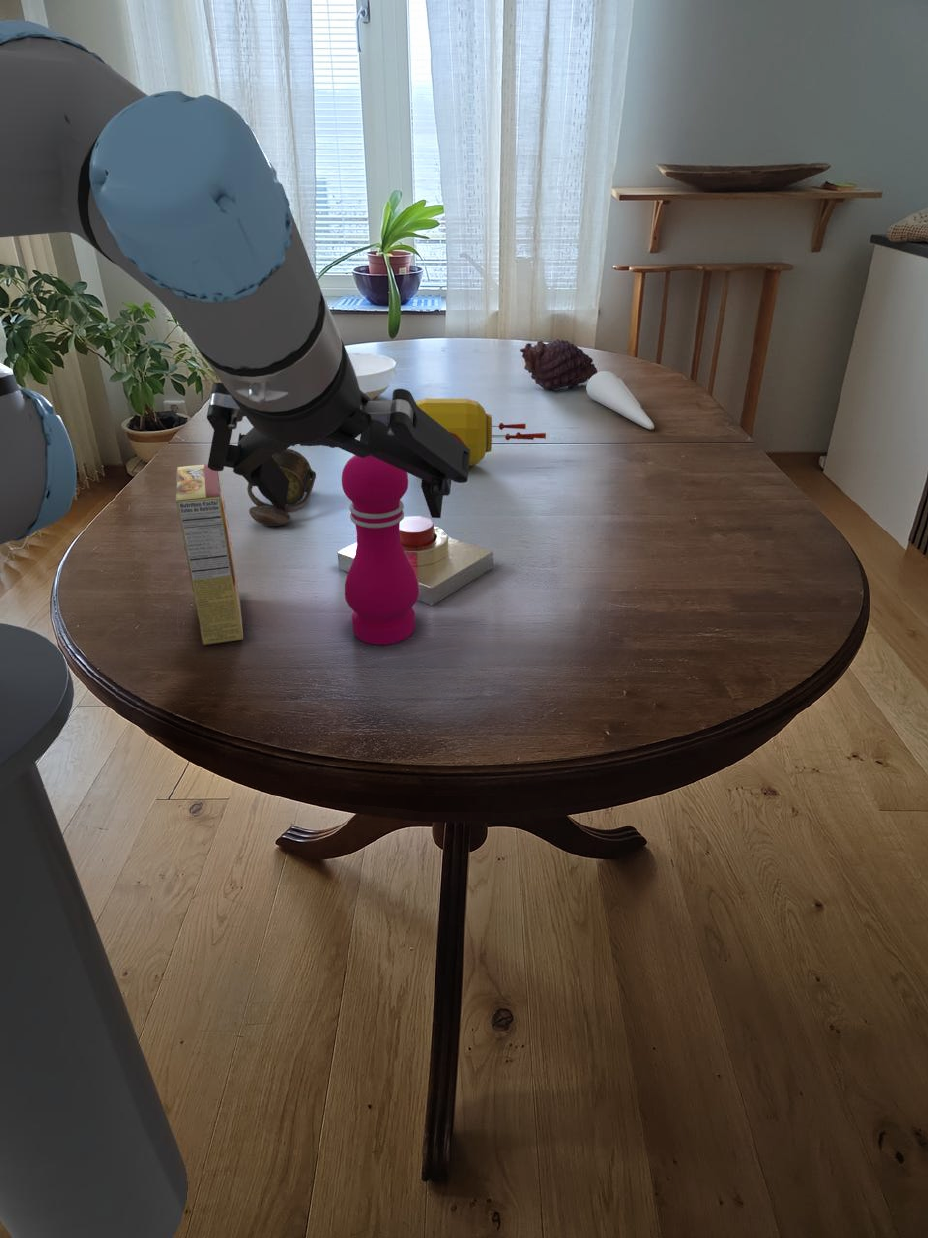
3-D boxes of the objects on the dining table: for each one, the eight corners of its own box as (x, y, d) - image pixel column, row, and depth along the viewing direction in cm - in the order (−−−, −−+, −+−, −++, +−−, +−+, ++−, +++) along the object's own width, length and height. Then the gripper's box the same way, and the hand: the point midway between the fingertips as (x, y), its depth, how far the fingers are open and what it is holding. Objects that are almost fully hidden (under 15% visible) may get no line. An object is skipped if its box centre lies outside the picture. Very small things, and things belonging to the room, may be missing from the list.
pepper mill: (336, 642, 77) (317, 444, 67) (363, 606, 83) (349, 420, 73) (406, 653, 76) (397, 452, 65) (429, 616, 82) (424, 426, 71)
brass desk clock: (340, 460, 106) (278, 434, 109) (284, 483, 96) (217, 454, 98) (331, 508, 110) (272, 482, 112) (277, 536, 99) (213, 507, 102)
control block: (338, 569, 91) (335, 537, 89) (402, 536, 98) (400, 506, 96) (432, 606, 83) (431, 572, 81) (492, 568, 91) (493, 536, 89)
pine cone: (579, 375, 167) (604, 338, 159) (590, 409, 162) (616, 373, 154) (505, 358, 159) (527, 319, 151) (515, 394, 154) (538, 355, 147)
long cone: (617, 442, 134) (583, 399, 149) (652, 444, 136) (614, 401, 151) (625, 410, 131) (589, 370, 146) (660, 412, 132) (621, 371, 147)
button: (387, 541, 89) (386, 525, 87) (412, 529, 91) (412, 512, 90) (416, 552, 86) (416, 535, 85) (442, 538, 89) (441, 522, 88)
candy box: (200, 603, 84) (173, 466, 76) (241, 598, 85) (218, 461, 77) (202, 647, 77) (172, 500, 69) (247, 640, 78) (222, 494, 70)
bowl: (371, 378, 164) (369, 348, 161) (415, 401, 150) (414, 368, 147) (282, 391, 156) (278, 360, 153) (319, 416, 141) (316, 382, 138)
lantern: (545, 386, 118) (344, 386, 118) (550, 420, 111) (337, 420, 111) (540, 444, 125) (351, 444, 125) (545, 479, 118) (344, 479, 118)
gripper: (74, 409, 48) (213, 531, 68) (484, 426, 45) (500, 548, 65) (99, 301, 49) (227, 452, 70) (495, 311, 47) (507, 465, 67)
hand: (359, 499), depth 68 cm, fingers open, 13 cm apart
